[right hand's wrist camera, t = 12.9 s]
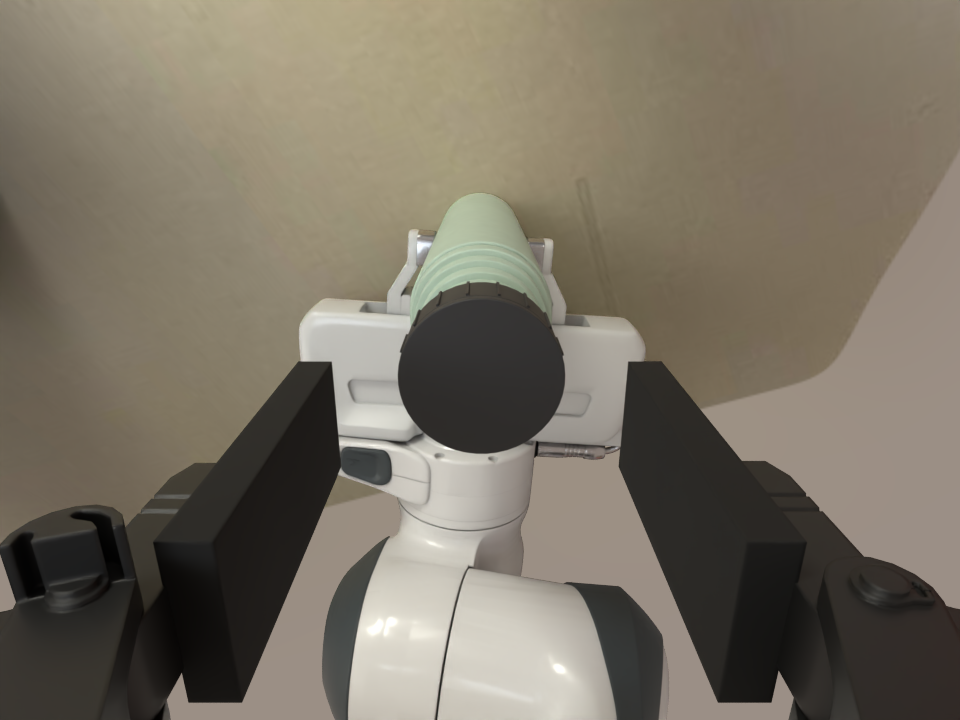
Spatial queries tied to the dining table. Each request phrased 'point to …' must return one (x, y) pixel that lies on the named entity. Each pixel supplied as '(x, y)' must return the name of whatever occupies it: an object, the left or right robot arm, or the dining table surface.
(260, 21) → the dining table surface
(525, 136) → the dining table surface
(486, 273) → the bottle
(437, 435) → the cap
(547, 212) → the dining table surface
